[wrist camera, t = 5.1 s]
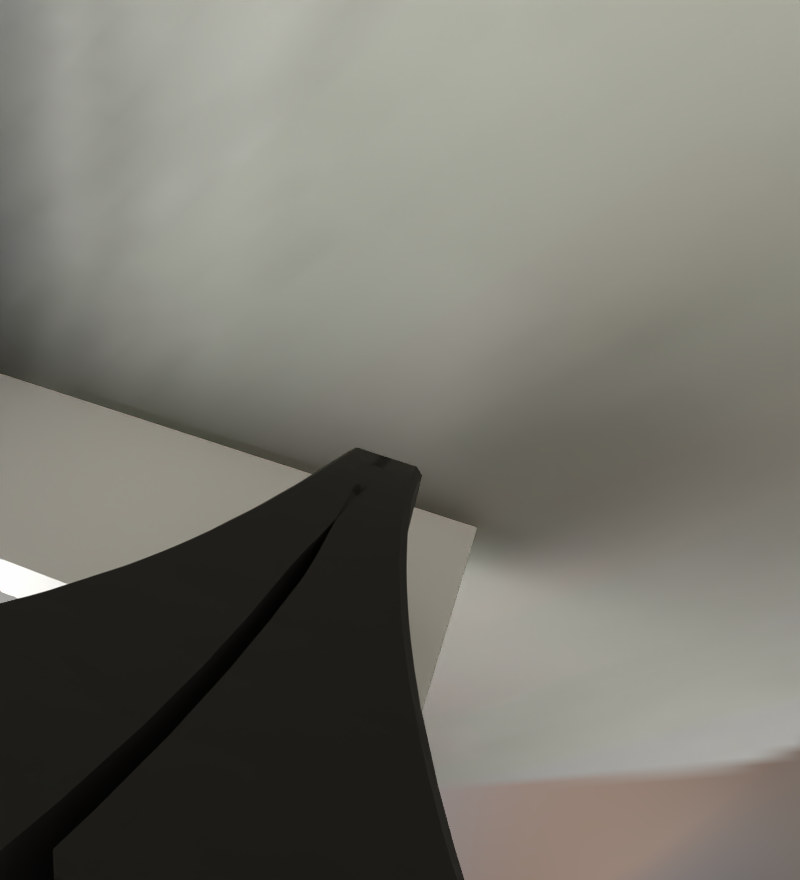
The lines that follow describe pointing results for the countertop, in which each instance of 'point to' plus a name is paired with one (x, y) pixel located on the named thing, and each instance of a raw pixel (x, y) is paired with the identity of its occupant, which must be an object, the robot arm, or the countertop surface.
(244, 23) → the countertop surface
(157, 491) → the side door
